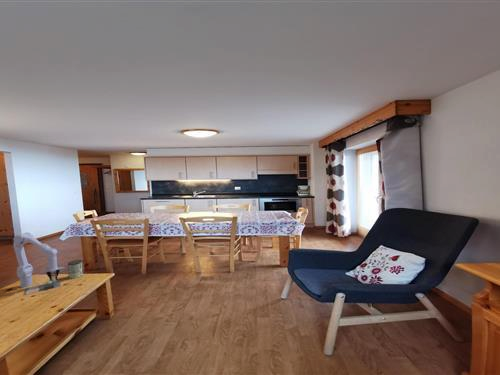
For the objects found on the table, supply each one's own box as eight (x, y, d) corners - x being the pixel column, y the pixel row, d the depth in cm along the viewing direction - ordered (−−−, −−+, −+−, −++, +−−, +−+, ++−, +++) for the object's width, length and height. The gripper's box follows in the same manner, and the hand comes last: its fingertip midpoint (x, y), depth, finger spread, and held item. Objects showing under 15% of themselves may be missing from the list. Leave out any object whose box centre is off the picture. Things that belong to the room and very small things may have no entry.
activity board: (25, 289, 194) (25, 288, 194) (60, 281, 208) (60, 280, 208) (23, 296, 183) (23, 295, 183) (60, 287, 196) (60, 286, 196)
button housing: (44, 287, 195) (44, 284, 195) (54, 285, 198) (53, 282, 198) (44, 290, 190) (43, 287, 190) (53, 288, 194) (53, 285, 194)
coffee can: (66, 278, 214) (65, 262, 214) (80, 274, 223) (79, 259, 222) (71, 280, 208) (70, 264, 208) (84, 276, 217) (83, 261, 216)
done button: (46, 283, 194) (45, 281, 194) (51, 282, 197) (51, 280, 197) (45, 285, 192) (45, 283, 191) (51, 283, 194) (51, 281, 194)
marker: (51, 282, 203) (50, 272, 202) (56, 281, 205) (55, 271, 204) (51, 283, 200) (50, 274, 200) (56, 282, 202) (55, 273, 202)
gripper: (40, 267, 194) (42, 283, 195) (63, 263, 203) (64, 278, 204) (41, 265, 199) (42, 281, 200) (63, 260, 208) (64, 276, 209)
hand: (53, 279), depth 202 cm, fingers closed on marker, 3 cm apart
